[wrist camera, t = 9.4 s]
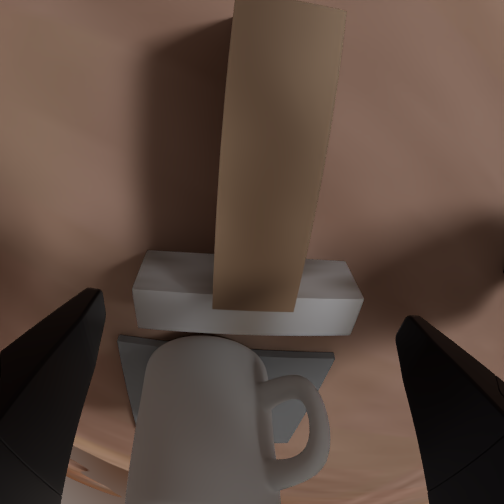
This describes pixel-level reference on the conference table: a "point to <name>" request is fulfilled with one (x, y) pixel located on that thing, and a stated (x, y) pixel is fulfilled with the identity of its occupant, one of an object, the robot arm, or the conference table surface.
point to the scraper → (264, 190)
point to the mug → (217, 427)
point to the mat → (276, 362)
